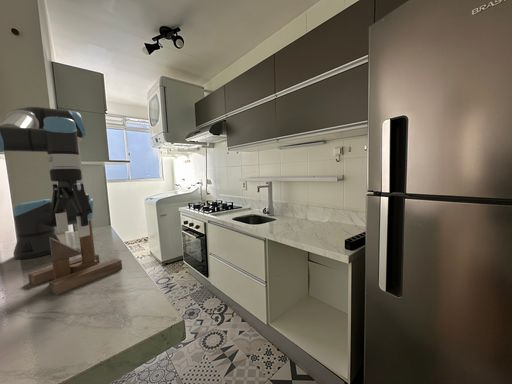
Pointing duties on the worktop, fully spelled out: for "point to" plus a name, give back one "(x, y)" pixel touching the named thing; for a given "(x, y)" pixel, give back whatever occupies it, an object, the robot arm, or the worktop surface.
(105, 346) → the worktop surface
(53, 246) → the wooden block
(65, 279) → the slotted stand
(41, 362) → the worktop surface
